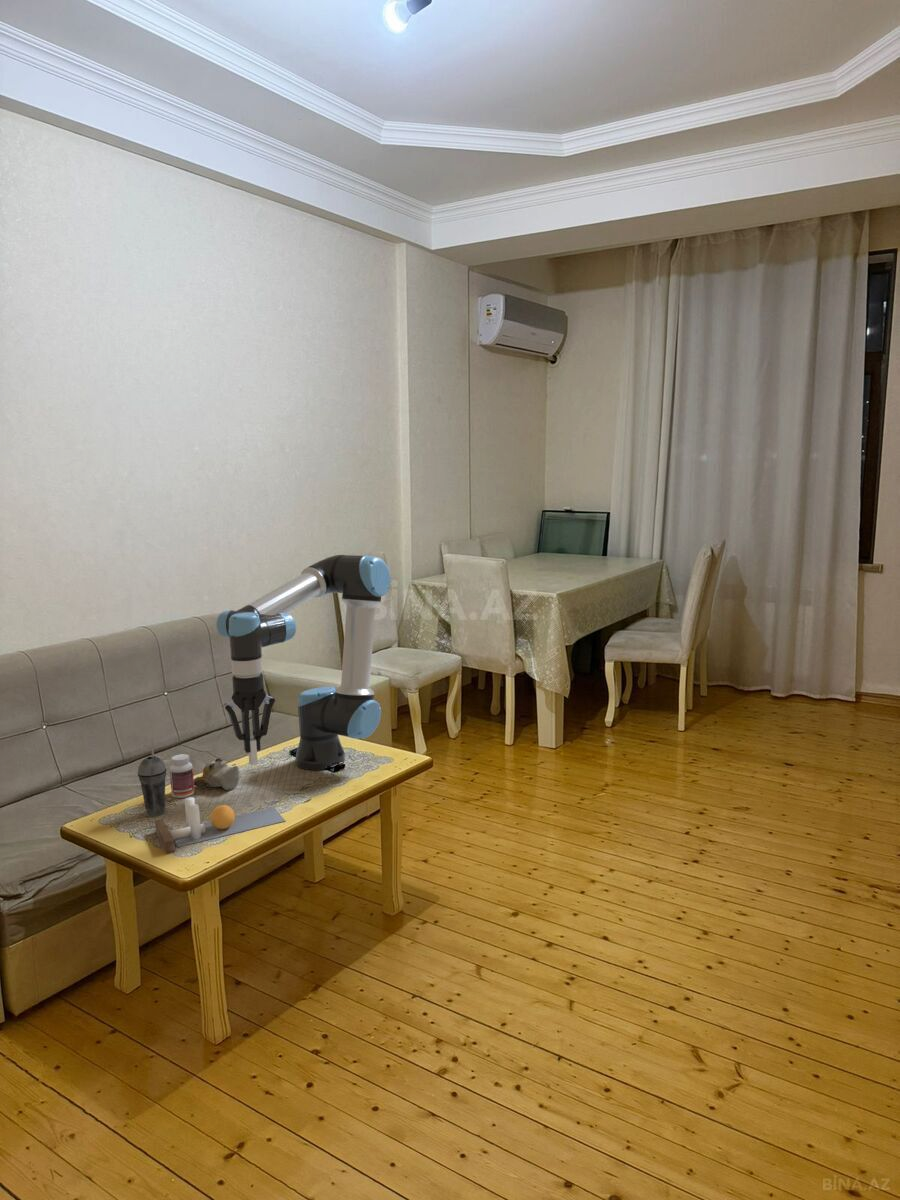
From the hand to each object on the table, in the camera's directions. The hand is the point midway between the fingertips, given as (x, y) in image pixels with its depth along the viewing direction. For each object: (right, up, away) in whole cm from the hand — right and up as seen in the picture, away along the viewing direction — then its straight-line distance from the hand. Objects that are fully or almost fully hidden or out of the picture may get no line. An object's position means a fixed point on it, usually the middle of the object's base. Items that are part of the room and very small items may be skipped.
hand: (253, 763), depth 205 cm
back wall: (-20, -17, -9) cm, 28 cm away
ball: (-7, -13, -3) cm, 15 cm away
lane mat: (-6, -16, -1) cm, 17 cm away
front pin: (-11, -15, -4) cm, 20 cm away
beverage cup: (-28, -15, +8) cm, 33 cm away
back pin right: (-15, -16, -3) cm, 22 cm away
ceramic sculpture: (-16, -12, +26) cm, 33 cm away
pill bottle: (-25, -13, +20) cm, 35 cm away
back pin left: (-12, -17, -7) cm, 22 cm away
